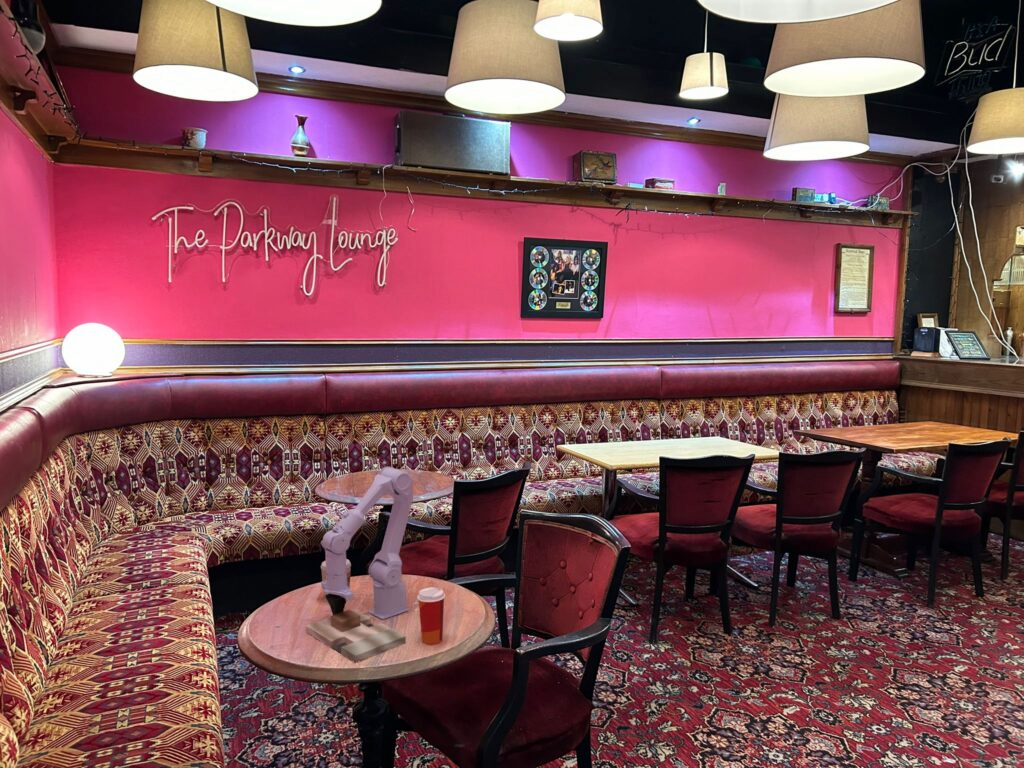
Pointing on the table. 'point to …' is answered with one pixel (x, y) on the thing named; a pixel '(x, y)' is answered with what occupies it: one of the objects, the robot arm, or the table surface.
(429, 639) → the paper cup
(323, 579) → the coffee cup
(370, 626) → the board
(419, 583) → the table surface
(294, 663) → the table surface
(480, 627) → the table surface
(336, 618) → the walnut block
